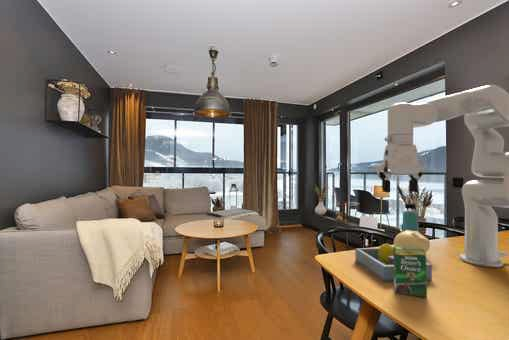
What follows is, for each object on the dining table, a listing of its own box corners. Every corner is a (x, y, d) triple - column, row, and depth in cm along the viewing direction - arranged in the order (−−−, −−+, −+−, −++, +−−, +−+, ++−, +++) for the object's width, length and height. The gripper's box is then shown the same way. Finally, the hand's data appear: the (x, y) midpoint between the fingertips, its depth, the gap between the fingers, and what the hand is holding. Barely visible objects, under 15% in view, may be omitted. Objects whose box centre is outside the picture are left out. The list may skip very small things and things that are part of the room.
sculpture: (434, 262, 99) (435, 234, 99) (403, 261, 99) (403, 233, 99) (417, 252, 110) (417, 227, 110) (388, 251, 111) (389, 227, 111)
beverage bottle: (413, 250, 113) (413, 204, 113) (398, 245, 119) (399, 203, 119) (422, 247, 116) (422, 204, 116) (407, 244, 122) (407, 202, 122)
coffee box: (394, 293, 74) (394, 248, 74) (392, 289, 77) (393, 245, 76) (427, 298, 71) (427, 251, 71) (424, 294, 74) (424, 248, 74)
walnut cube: (411, 275, 84) (411, 260, 84) (397, 276, 83) (397, 261, 83) (401, 269, 89) (401, 255, 89) (387, 270, 88) (387, 256, 88)
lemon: (380, 267, 91) (380, 244, 91) (376, 261, 97) (376, 240, 97) (397, 268, 90) (397, 245, 90) (392, 262, 96) (392, 241, 96)
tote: (394, 259, 101) (395, 247, 101) (431, 280, 83) (431, 264, 83) (355, 261, 99) (355, 248, 99) (384, 282, 81) (384, 266, 81)
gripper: (382, 139, 81) (382, 193, 81) (432, 140, 83) (432, 192, 83) (369, 141, 89) (369, 191, 89) (415, 142, 90) (415, 190, 90)
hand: (399, 191), depth 86 cm, fingers open, 9 cm apart
